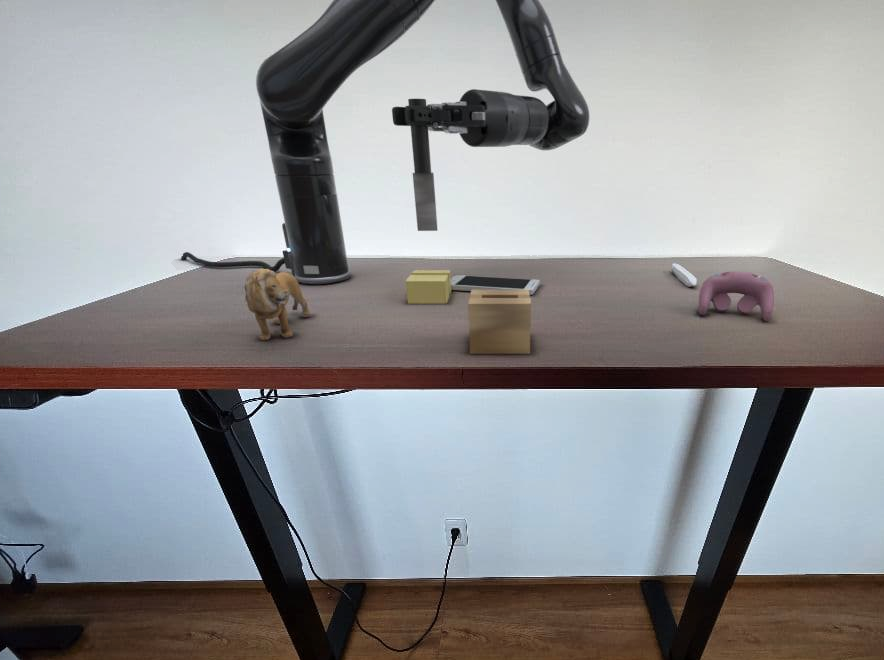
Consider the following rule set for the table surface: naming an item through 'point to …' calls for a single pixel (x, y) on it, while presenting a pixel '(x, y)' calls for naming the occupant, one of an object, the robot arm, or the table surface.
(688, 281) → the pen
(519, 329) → the knife block
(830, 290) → the table surface
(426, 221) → the knife
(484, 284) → the smartphone
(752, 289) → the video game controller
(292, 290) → the lion figurine
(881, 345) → the table surface
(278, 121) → the robot arm
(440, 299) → the butter
